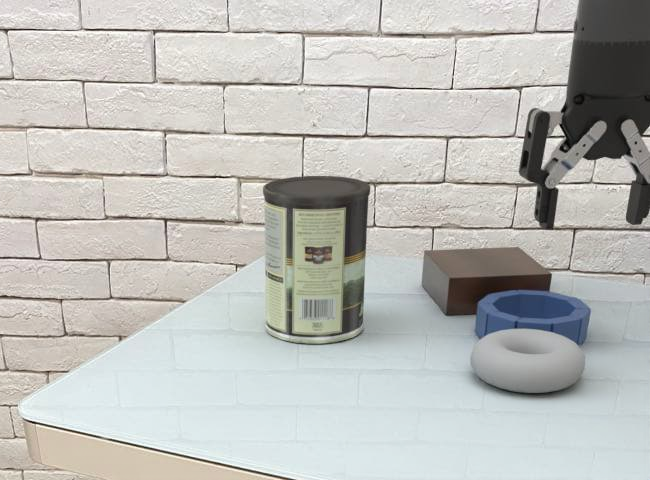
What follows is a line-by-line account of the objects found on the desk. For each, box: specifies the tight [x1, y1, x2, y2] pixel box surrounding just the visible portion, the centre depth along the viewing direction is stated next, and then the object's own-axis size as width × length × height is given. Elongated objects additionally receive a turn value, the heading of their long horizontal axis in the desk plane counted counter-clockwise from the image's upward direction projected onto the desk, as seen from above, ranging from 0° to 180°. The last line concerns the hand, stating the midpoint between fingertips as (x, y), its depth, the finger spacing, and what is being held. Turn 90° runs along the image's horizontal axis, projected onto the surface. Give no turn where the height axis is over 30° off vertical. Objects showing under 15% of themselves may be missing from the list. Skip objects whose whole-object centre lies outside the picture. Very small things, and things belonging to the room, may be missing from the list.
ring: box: [474, 290, 592, 347], centre depth 96 cm, size 10×11×3 cm
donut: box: [469, 329, 586, 394], centre depth 86 cm, size 10×4×10 cm
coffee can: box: [262, 175, 371, 345], centre depth 96 cm, size 10×10×14 cm
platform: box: [421, 246, 553, 316], centre depth 106 cm, size 11×11×4 cm
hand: (589, 225), depth 91 cm, fingers open, 8 cm apart
